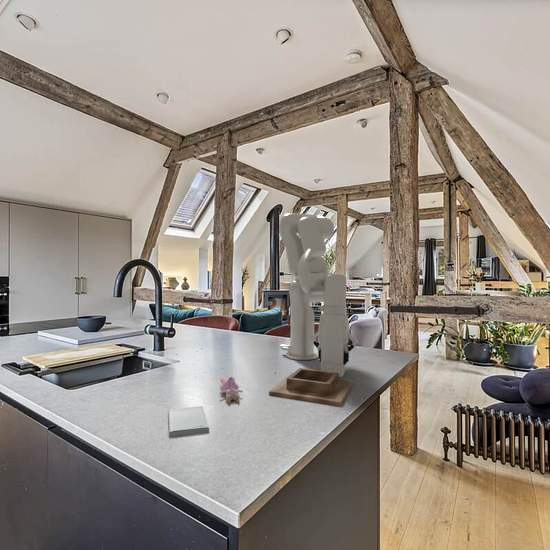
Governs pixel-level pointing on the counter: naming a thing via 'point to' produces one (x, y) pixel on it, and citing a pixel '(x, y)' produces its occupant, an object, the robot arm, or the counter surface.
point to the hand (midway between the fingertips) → (333, 362)
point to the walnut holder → (313, 386)
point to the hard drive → (187, 421)
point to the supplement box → (332, 355)
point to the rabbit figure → (230, 388)
